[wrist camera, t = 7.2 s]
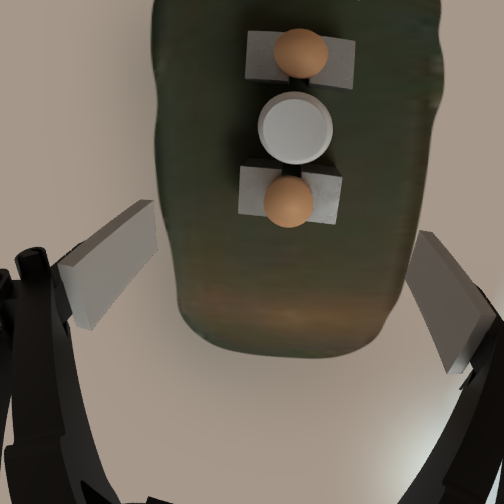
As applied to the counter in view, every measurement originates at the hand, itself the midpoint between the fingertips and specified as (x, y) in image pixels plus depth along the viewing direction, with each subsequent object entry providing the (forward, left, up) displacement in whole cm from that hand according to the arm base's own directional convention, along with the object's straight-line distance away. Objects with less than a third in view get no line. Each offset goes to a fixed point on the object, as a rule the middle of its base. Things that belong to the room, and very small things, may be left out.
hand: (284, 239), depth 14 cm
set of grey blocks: (-4, 0, -14) cm, 15 cm away
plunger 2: (+1, 0, -13) cm, 13 cm away
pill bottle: (-5, 0, -15) cm, 15 cm away
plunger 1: (-10, 0, -13) cm, 17 cm away
